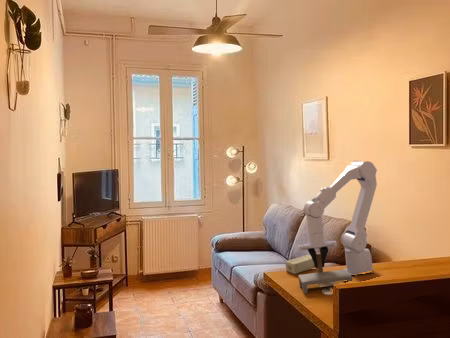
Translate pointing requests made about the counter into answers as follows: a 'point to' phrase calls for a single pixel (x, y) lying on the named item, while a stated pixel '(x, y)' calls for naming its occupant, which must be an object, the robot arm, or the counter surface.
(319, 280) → the u-shaped block
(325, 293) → the steel token
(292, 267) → the skincare box
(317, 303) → the counter surface
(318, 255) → the brown piece
